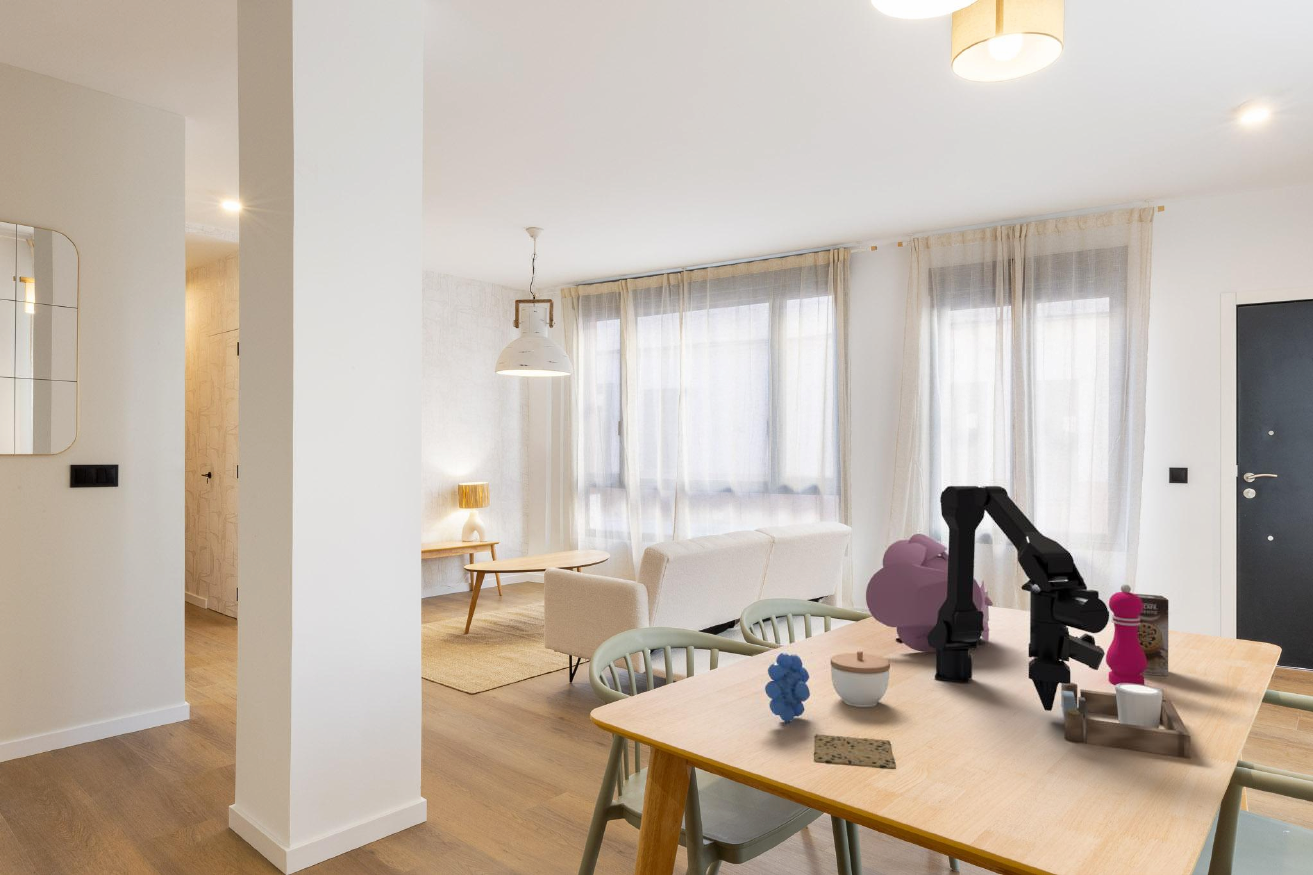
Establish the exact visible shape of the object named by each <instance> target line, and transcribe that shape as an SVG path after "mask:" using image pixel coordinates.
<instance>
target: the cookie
mask: <svg viewBox="0 0 1313 875" xmlns="http://www.w3.org/2000/svg"><path fill="white" fill-rule="evenodd" d="M813 739H814V750H813V762H814V763H818V764H819V763H821V764H832V765H843V766H855V767H867V768H877V769H888V770H896V768H897V764H896V761H895V760H896V759H895V756H894V754H893V750H892V749H893V746H892V744H891V741H890V740H888V739H878V738H877V739H875V738H867V737H851V736H841V735H830V734H829V735H826V734H817V733H816V734H815V735H814V738H813Z"/></svg>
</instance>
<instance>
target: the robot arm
mask: <svg viewBox="0 0 1313 875" xmlns="http://www.w3.org/2000/svg"><path fill="white" fill-rule="evenodd" d="M939 499H940V500H939V502H940V509H941V511H940V512H941V513H940V514H941V517H942V518H943V520H944V522H945V524H946V525H947V527H948V553H947V554H948V581H947V599H946V600H945V602H944V603H943V605H942V606H941V608H940V609H939V611H938V618H937V624H936V625H935V626H934V628H933V629H932V630H931V631H930V633H929V634H928V635H927V640H928V645H929V646H930V647H932V648H935V649H936V652H935V675H934V679H935V680H939V681H940V680H942V681H949V682H955V683H957V682H959V683H967V684H968V683H969V682H970V679H972V678H973V673H974V672H973V670H974V669H973V660H974V659H973V655H972V654H970V650H972V649H974V650H977V649H978V647H979V644H980V640H981V637H982V636H981V634H982V631H984V629H983V617H984V614H983V612H982V611H978V609H977V607H976V605H975V604H974V602H973V583H974V579H975V551H976V550H975V549H976V548H975V547H976V545H975V544H976V530H977V529H978V527H979V526H980V524H981V523H982V521H983V520H984V518H985V513H987V514H988V515H989V516H990V518H991V519H992V520H993V522H994V523H995V524H996V525H997V526H998V528H999V529H1000V530H1001V532H1002V533H1003V534H1004V535H1005V536H1006V537H1007V539H1008V540H1009V541H1010V542H1011V544H1012V545H1013V547H1015V549H1016V551H1017V562H1018V563H1019V565H1020V567H1021V569H1022V570H1023V572H1024V573H1025V575H1026V577H1027V578H1028V579H1029V580H1028V581H1027V582H1025V583H1024V584H1022V586H1021V590H1022V591H1026V592H1030V596H1029V597H1030V598H1029V599H1030V600H1029V601H1030V602H1029V603H1030V604H1029V605H1030V606H1029V607H1030V608H1029V613H1030V614H1029V643H1028V658H1033V659H1031V660H1030V661H1029V662H1028V679H1029V680H1031V681H1032V682H1033V683H1032V684H1033V685H1034V687H1035V688H1034V689H1035V690H1036V692H1037V694H1038V695H1037V696H1038V697H1039V700H1040V703H1041V704H1042V706H1043V707H1042V708H1043V709H1044V711H1047V712H1051V711H1052V710H1053V705H1054V703H1055V702H1054V701H1055V699H1056V694H1057V690H1058V686H1059V684H1061V683H1064V684H1070V683H1072V682H1071V678H1072V677H1071V672H1072V671H1071V669H1070V666H1069V665H1068V664H1067V663H1066V662H1070V659H1071V660H1074V661H1077V662H1079V663H1081V664H1082V665H1086V666H1088V668H1090V669H1092V670H1095V671H1098V670H1099V668H1100V666H1101V665H1102V664H1101V663H1102V662H1103V659H1104V656H1106V655H1105V654H1106V653H1105V651H1104V648H1102V647H1101V646H1100V645H1096V641H1095V637H1094V636H1093V635H1090V634H1088V633H1091V634H1098V633H1101V632H1102V631H1103V630H1105V628H1107V625H1108V623H1109V619H1110V611H1109V610H1108V606H1107V605H1106V603H1105V602H1104V601H1103V600H1102V599H1100V597H1099V596H1100V595H1099V594H1100V593H1099V591H1098V590H1095V589H1088V586H1087V584H1086V583H1085V579H1084V578H1083V577H1082V575H1081V573H1080V571H1079V569H1078V567H1077V566H1076V564H1075V562H1074V558H1073V556H1072V554H1071V552H1070V551H1068V550H1067V549H1066V548H1065V547H1064V546H1062V544H1060V543H1059V542H1058V541H1056V540H1054V539H1052V538H1050V537H1048V536H1045V535H1044V534H1043V533H1041V532H1040V531H1039V530H1038V529H1037V528H1036V526H1035V525H1034V524H1033V523H1032V522H1031V521H1030V520H1029V518H1028V517H1027V516H1026V515H1025V514H1024V512H1023V511H1022V510H1021V509H1020V507H1019V506H1017V504H1016V503H1015V502H1014V501H1013V499H1011V497H1010V496H1009V494H1008V491H1007V489H1005V488H1004V487H1002V486H999V485H981V486H978V485H949V486H947V487H945V489H944V490H942V491H941V493H940V498H939ZM1069 628H1072V629H1076V630H1080V631H1083V632H1087V633H1084V634H1082V635H1081V636H1080V637H1079V636H1074V635H1071V634H1070V631H1069Z"/></svg>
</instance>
